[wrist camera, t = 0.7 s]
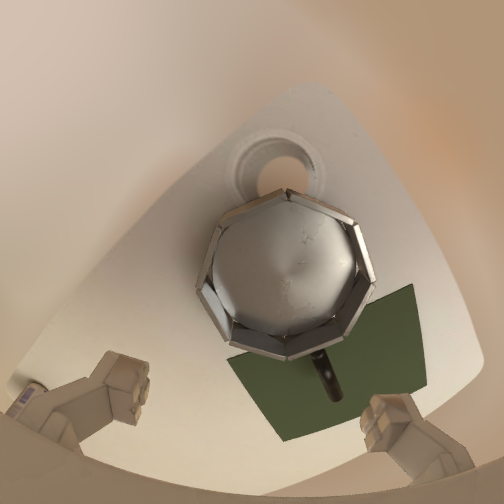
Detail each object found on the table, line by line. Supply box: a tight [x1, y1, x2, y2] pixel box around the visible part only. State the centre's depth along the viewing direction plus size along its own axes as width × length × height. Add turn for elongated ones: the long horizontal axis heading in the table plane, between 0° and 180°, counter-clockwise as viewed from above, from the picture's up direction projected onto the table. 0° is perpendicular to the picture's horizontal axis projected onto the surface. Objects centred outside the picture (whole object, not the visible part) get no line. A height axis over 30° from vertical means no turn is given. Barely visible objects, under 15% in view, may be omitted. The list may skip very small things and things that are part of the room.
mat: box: [227, 284, 427, 442], centre depth 30 cm, size 20×16×1 cm
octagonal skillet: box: [195, 188, 376, 403], centre depth 25 cm, size 20×13×5 cm, turn 24°
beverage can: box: [5, 383, 48, 420], centre depth 26 cm, size 5×5×15 cm
